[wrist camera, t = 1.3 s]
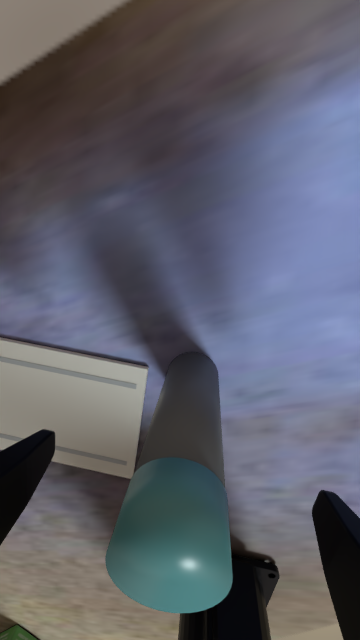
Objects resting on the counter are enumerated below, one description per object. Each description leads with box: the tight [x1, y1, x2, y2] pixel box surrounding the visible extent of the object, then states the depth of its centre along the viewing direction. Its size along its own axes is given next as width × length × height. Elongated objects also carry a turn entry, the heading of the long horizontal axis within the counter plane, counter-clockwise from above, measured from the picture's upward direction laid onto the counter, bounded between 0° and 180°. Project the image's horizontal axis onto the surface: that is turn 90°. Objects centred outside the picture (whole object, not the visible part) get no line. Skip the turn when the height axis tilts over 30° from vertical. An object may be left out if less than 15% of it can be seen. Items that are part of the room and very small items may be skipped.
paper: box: [0, 337, 149, 479], centre depth 16 cm, size 8×11×1 cm
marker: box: [106, 352, 233, 613], centre depth 10 cm, size 3×3×9 cm
